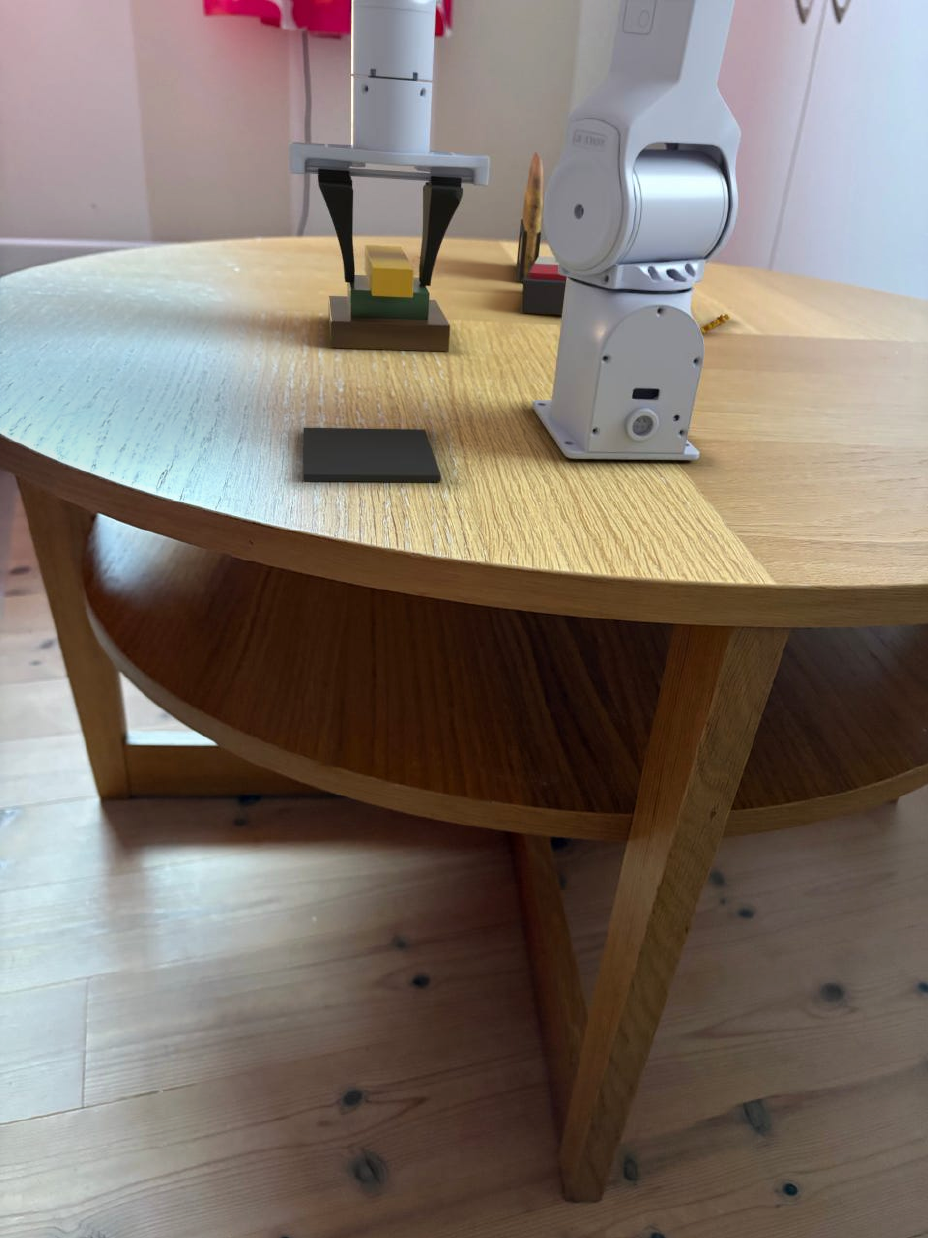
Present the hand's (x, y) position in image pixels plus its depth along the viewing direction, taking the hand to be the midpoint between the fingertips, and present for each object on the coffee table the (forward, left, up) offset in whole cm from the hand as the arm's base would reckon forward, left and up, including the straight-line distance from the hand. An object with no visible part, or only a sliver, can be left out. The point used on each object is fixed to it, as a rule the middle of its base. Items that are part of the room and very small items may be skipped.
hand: (387, 281), depth 69 cm
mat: (-27, +3, -4) cm, 27 cm away
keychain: (+7, -31, -4) cm, 32 cm away
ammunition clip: (+30, -18, -4) cm, 35 cm away
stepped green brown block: (0, 0, -4) cm, 4 cm away
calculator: (+13, -22, -4) cm, 26 cm away
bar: (0, 0, 0) cm, 0 cm away
